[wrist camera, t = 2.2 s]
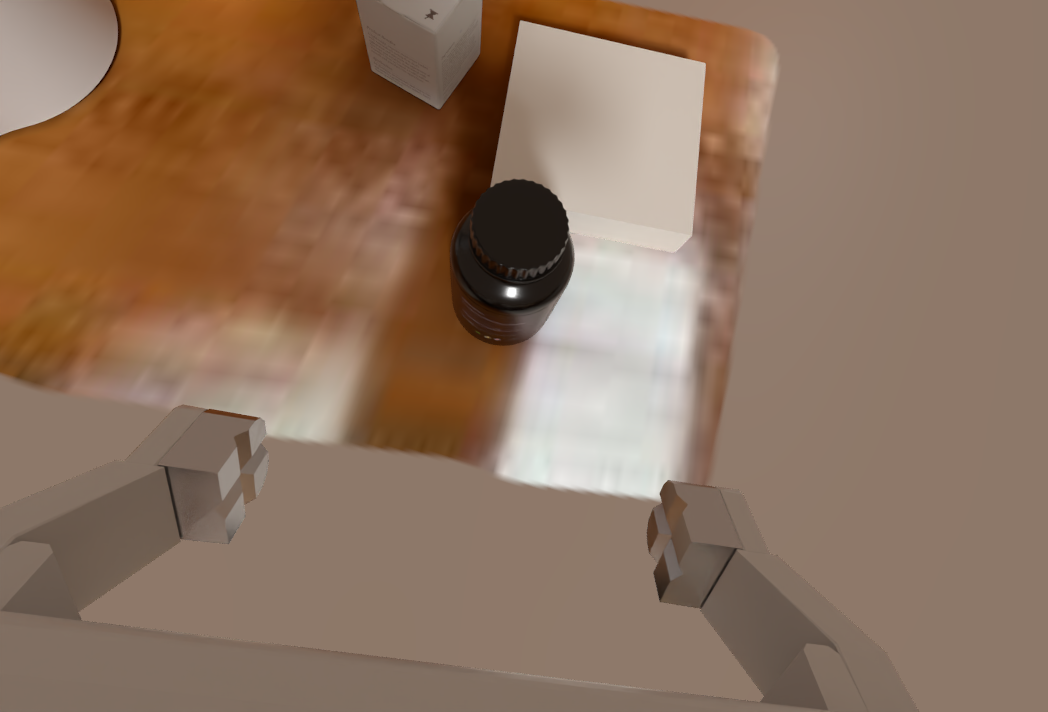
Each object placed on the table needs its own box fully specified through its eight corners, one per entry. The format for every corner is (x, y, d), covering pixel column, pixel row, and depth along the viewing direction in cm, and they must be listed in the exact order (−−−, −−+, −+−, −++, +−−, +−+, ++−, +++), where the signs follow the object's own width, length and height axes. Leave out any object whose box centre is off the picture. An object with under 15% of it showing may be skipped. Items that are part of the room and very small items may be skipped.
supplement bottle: (469, 240, 38) (476, 137, 26) (561, 272, 38) (608, 183, 27) (436, 330, 36) (429, 262, 25) (533, 362, 37) (571, 310, 25)
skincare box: (481, 55, 41) (487, -33, 34) (438, 113, 40) (435, 34, 33) (412, 14, 41) (404, -82, 34) (367, 70, 40) (349, -18, 33)
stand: (486, 215, 38) (488, 194, 35) (515, 51, 42) (520, 20, 39) (674, 252, 40) (692, 235, 37) (688, 91, 43) (705, 63, 40)
